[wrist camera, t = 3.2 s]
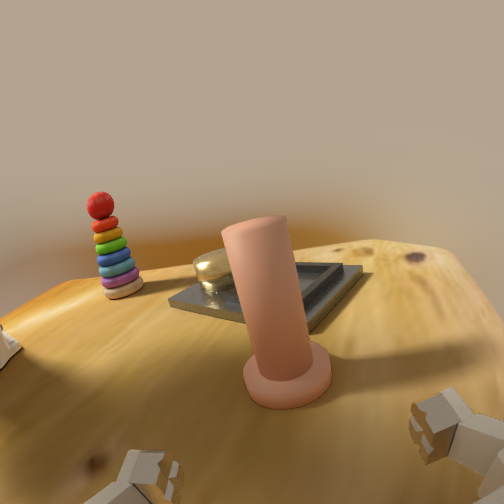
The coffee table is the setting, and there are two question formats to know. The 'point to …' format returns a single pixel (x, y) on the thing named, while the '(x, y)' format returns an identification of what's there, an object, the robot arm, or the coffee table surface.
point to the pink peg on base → (274, 316)
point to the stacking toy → (112, 250)
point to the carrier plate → (226, 297)
